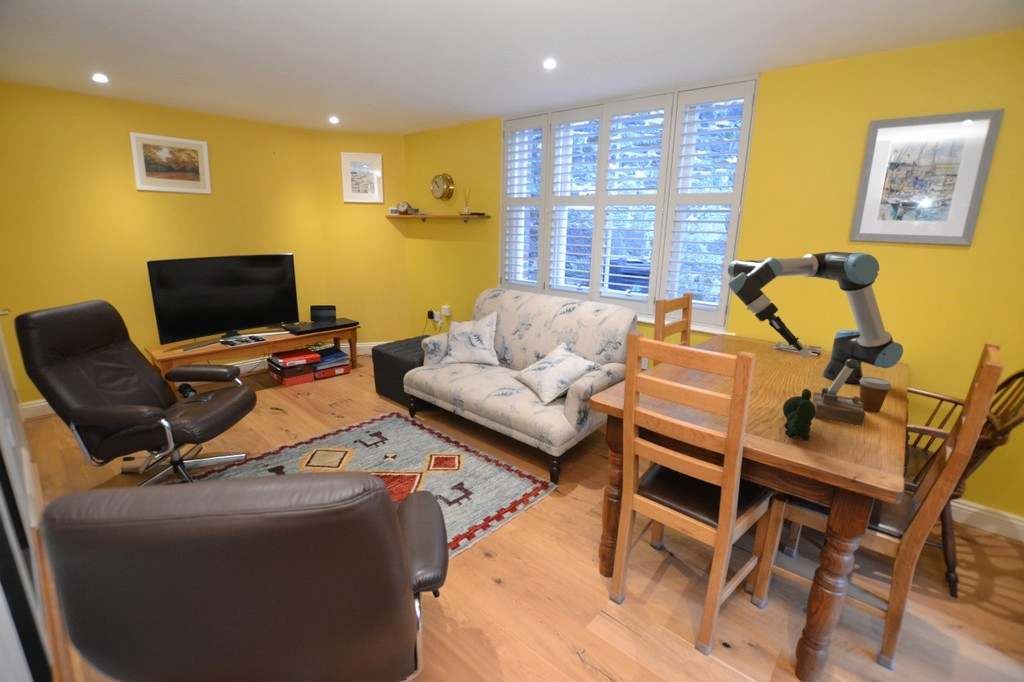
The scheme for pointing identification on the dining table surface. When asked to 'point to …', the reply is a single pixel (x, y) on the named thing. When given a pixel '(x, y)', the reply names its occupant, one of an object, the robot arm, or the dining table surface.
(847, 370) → the lever
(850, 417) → the base
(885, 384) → the disposable coffee cup
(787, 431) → the toy figurine
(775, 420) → the dining table surface
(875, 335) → the robot arm
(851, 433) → the dining table surface
